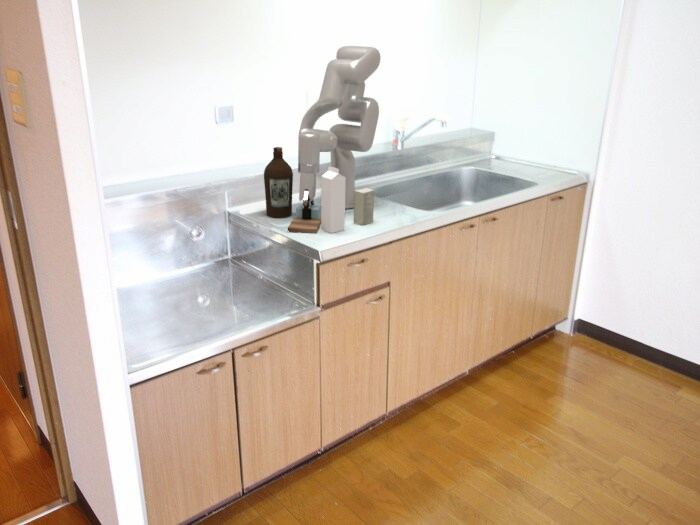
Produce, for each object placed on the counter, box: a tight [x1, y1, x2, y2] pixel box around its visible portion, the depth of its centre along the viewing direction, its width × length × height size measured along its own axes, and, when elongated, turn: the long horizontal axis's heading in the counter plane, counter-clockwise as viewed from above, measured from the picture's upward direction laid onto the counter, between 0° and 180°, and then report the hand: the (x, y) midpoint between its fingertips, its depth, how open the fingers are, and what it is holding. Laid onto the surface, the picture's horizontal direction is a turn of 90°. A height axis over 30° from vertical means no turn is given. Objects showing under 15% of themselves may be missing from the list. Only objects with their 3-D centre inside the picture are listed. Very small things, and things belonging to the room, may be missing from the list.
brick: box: [295, 203, 321, 219], centre depth 224 cm, size 6×8×5 cm
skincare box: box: [353, 187, 375, 226], centre depth 221 cm, size 6×4×12 cm
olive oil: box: [263, 146, 294, 219], centre depth 226 cm, size 11×11×25 cm
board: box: [287, 217, 321, 234], centre depth 216 cm, size 12×10×2 cm
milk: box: [320, 165, 346, 234], centre depth 211 cm, size 6×6×22 cm
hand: (308, 216), depth 224 cm, fingers open, 7 cm apart
